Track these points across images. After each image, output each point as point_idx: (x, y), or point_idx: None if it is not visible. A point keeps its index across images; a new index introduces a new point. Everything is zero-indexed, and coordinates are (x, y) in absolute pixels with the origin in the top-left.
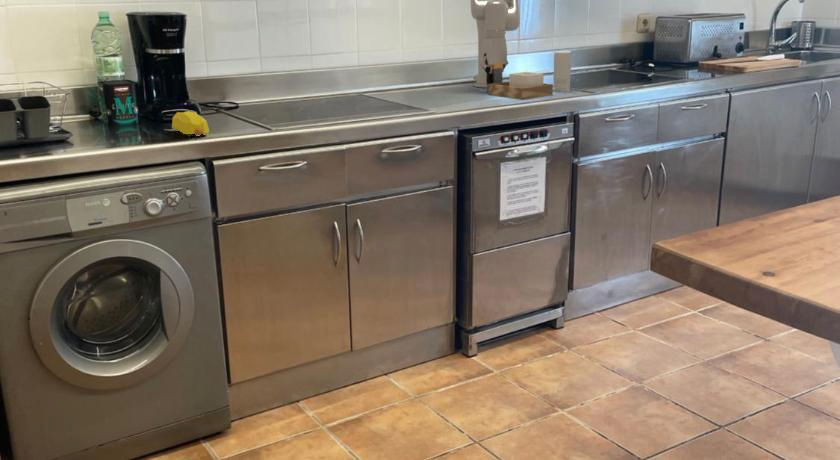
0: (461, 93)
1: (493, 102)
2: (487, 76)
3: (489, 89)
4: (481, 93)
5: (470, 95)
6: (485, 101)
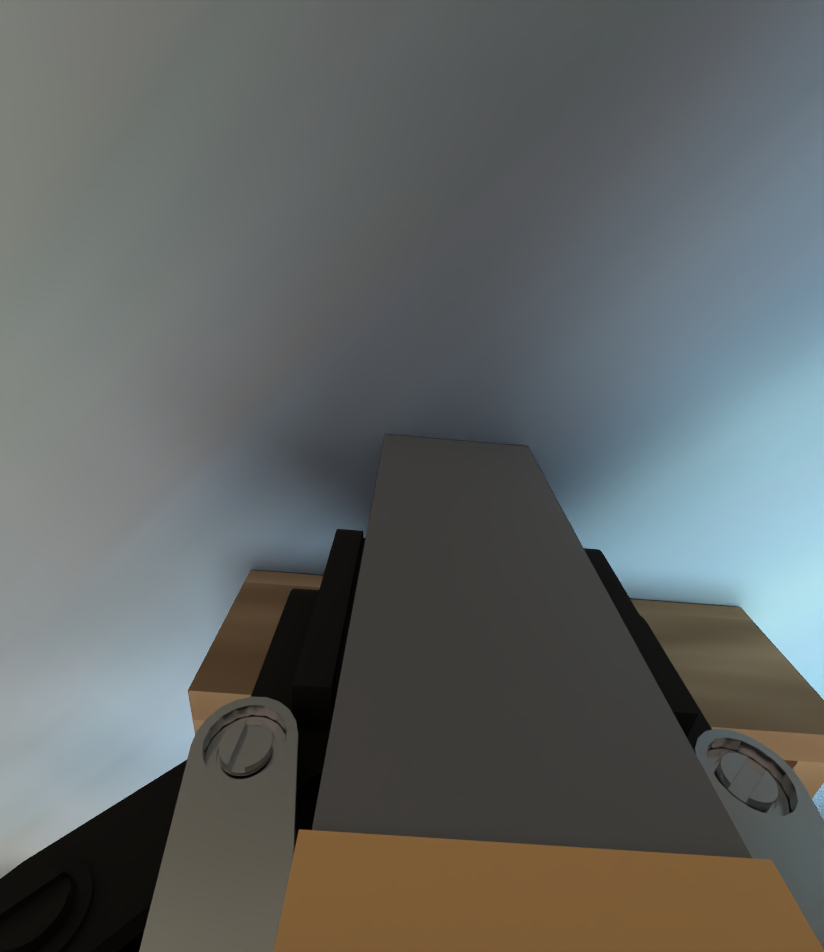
0: (112, 29)
1: (49, 784)
2: (266, 674)
3: (220, 642)
4: (370, 339)
5: (111, 349)
6: (15, 723)
